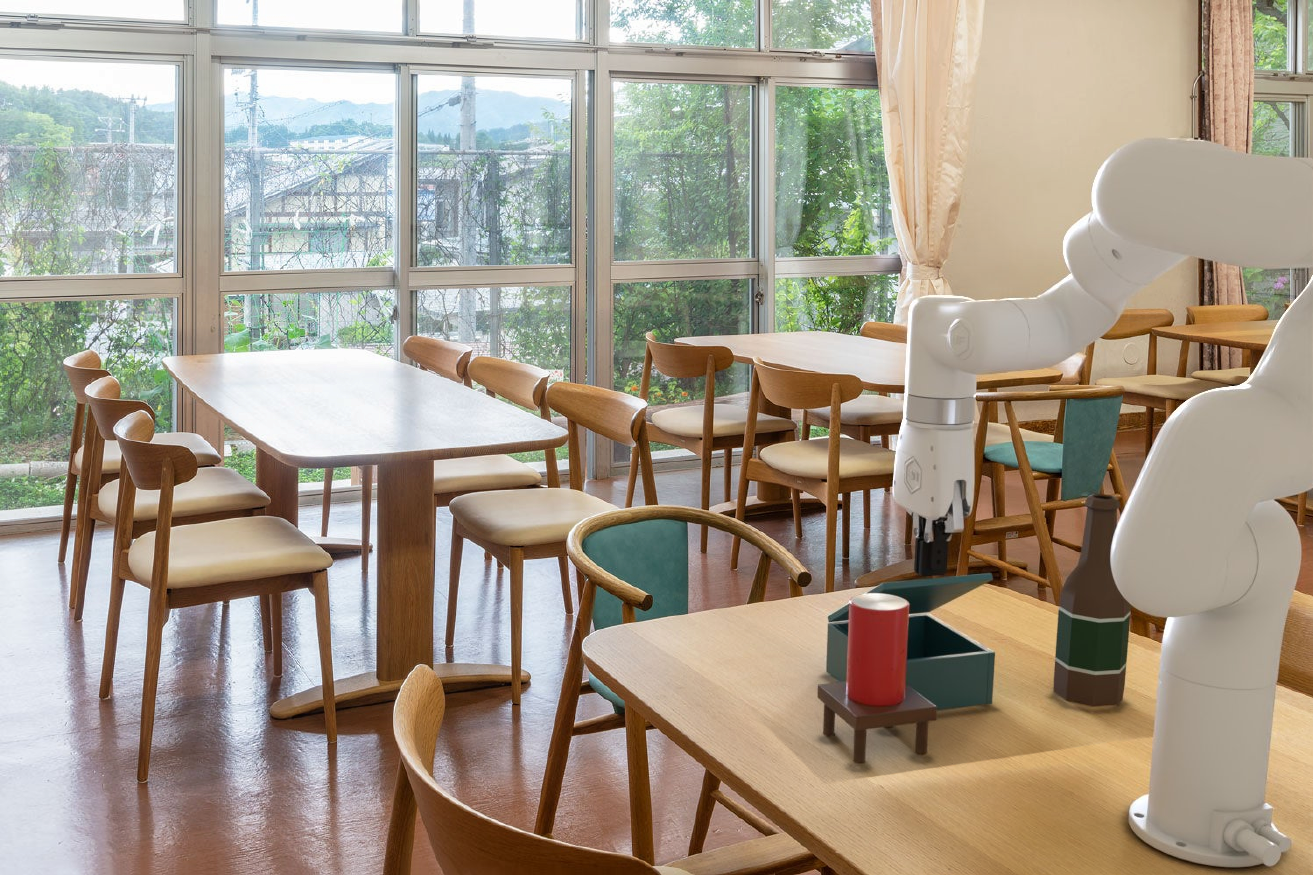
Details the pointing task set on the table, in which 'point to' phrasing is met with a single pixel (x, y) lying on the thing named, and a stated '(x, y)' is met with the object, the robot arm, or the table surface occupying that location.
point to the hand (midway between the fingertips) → (930, 573)
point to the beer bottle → (1093, 617)
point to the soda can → (877, 649)
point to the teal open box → (931, 662)
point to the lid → (923, 592)
